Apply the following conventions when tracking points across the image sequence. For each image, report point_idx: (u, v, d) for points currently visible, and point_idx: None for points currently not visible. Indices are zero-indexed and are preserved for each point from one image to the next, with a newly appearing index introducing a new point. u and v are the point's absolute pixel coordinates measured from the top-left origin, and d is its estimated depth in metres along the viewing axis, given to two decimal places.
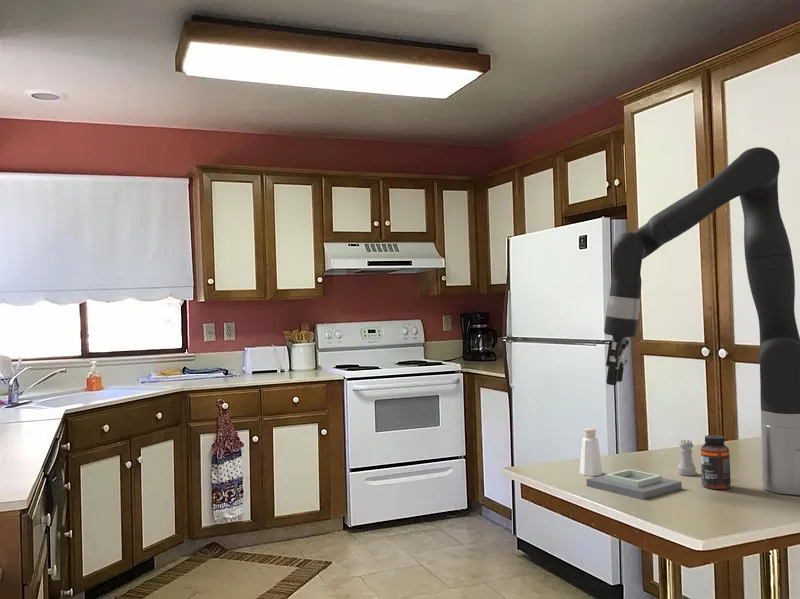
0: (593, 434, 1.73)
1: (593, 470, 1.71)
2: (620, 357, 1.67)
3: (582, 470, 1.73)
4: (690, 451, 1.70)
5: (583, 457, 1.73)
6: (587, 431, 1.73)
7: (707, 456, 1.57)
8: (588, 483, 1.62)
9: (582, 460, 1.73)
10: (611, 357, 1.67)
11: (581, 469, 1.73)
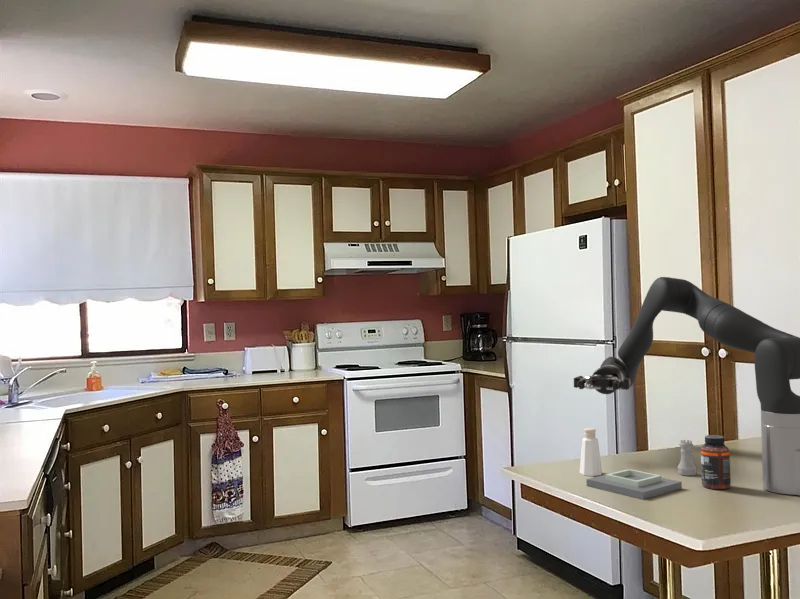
0: (593, 434, 1.73)
1: (593, 470, 1.71)
2: None
3: (582, 470, 1.73)
4: (690, 451, 1.70)
5: (583, 457, 1.73)
6: (587, 431, 1.73)
7: (707, 456, 1.57)
8: (588, 483, 1.62)
9: (582, 460, 1.73)
10: None
11: (581, 469, 1.73)
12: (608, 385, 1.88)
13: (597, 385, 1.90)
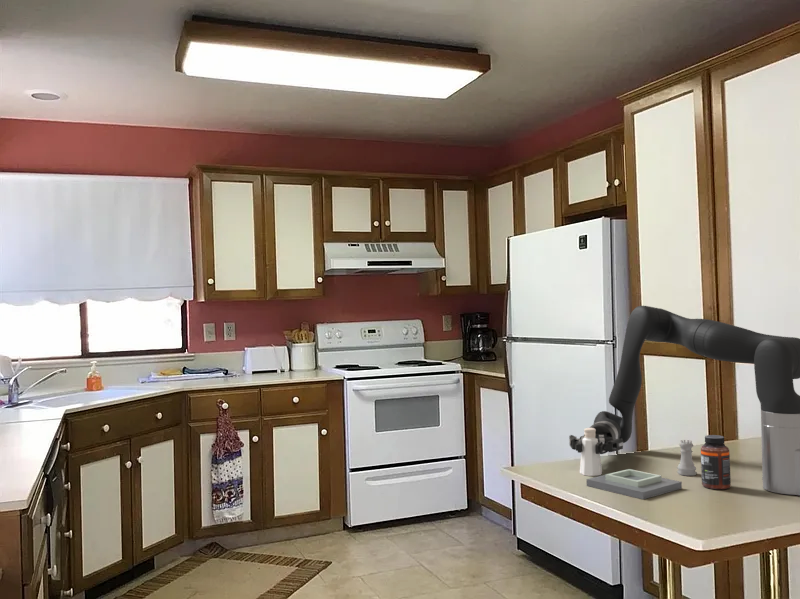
0: (593, 434, 1.73)
1: (593, 470, 1.71)
2: None
3: (582, 470, 1.73)
4: (690, 451, 1.70)
5: (583, 457, 1.73)
6: (587, 431, 1.73)
7: (707, 456, 1.57)
8: (588, 483, 1.62)
9: (582, 460, 1.73)
10: None
11: (581, 469, 1.73)
12: None
13: None
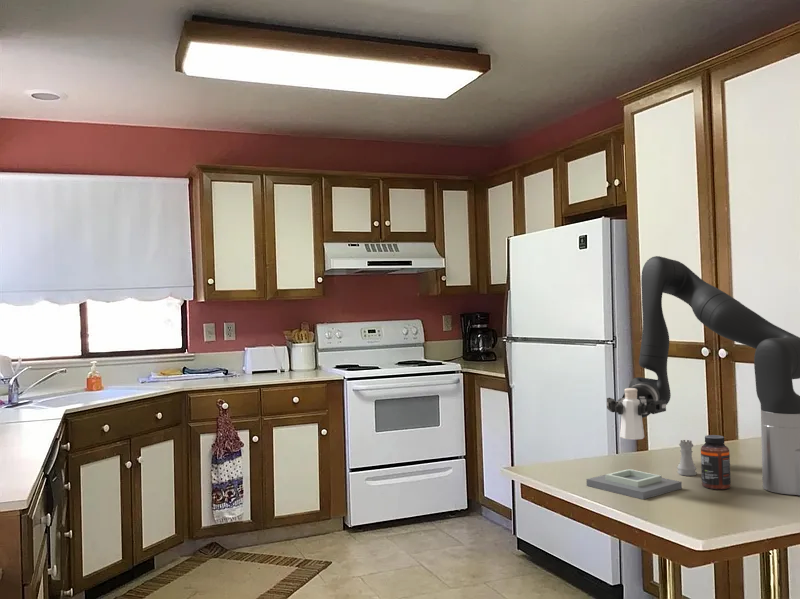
0: (635, 394, 1.59)
1: (635, 433, 1.58)
2: None
3: (623, 433, 1.59)
4: (690, 451, 1.70)
5: (624, 419, 1.59)
6: (628, 391, 1.59)
7: (707, 456, 1.57)
8: (588, 483, 1.62)
9: (623, 423, 1.60)
10: None
11: (622, 432, 1.60)
12: None
13: None
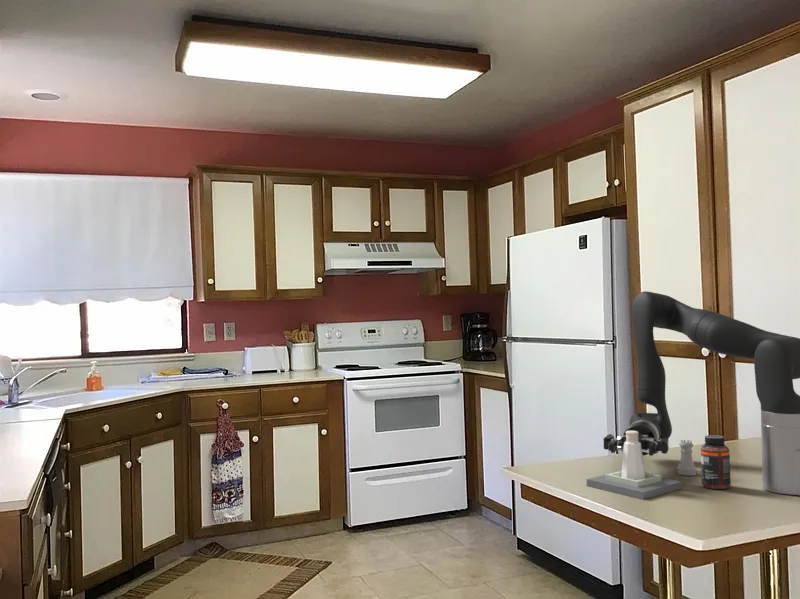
0: (636, 437, 1.59)
1: (636, 476, 1.58)
2: None
3: (624, 476, 1.59)
4: (690, 451, 1.70)
5: (625, 462, 1.59)
6: (629, 434, 1.59)
7: (707, 456, 1.57)
8: (588, 483, 1.62)
9: (624, 465, 1.60)
10: None
11: (623, 475, 1.60)
12: (643, 447, 1.63)
13: None
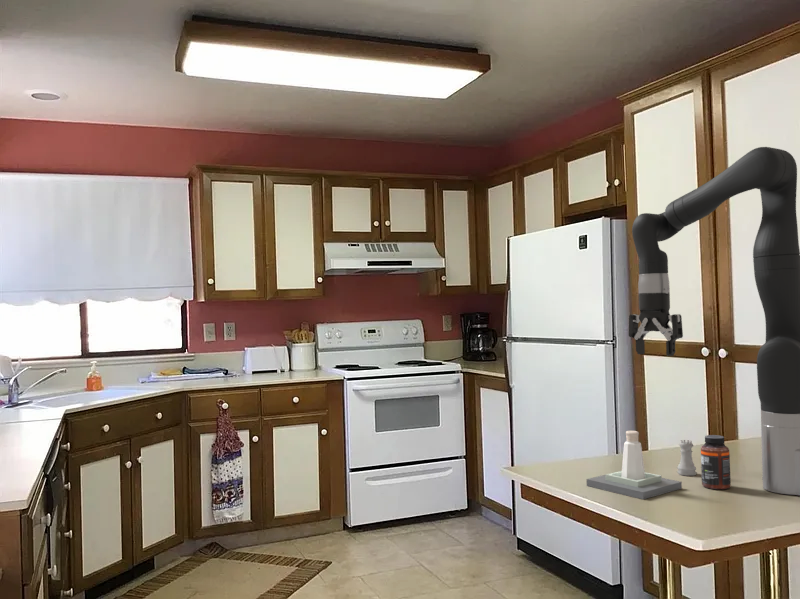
0: (636, 437, 1.59)
1: (636, 476, 1.58)
2: None
3: (624, 476, 1.59)
4: (690, 451, 1.70)
5: (625, 462, 1.59)
6: (630, 434, 1.59)
7: (707, 456, 1.57)
8: (588, 483, 1.62)
9: (624, 466, 1.60)
10: None
11: (623, 475, 1.60)
12: None
13: None
